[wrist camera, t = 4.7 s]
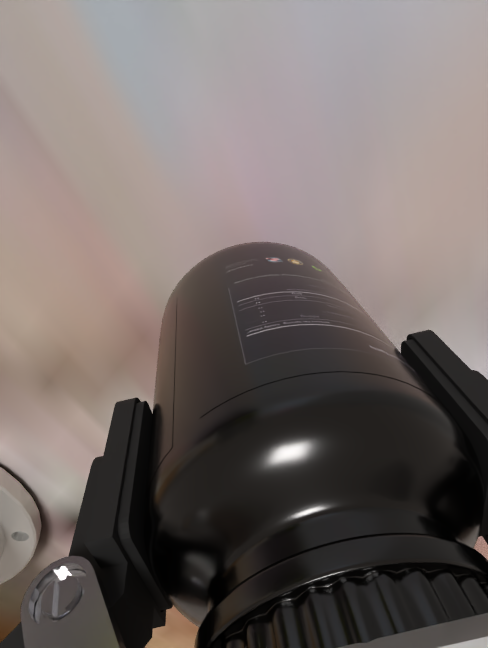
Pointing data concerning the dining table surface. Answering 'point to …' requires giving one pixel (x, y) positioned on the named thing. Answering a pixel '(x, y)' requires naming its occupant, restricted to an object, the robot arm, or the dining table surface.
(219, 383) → the supplement bottle
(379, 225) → the dining table surface
